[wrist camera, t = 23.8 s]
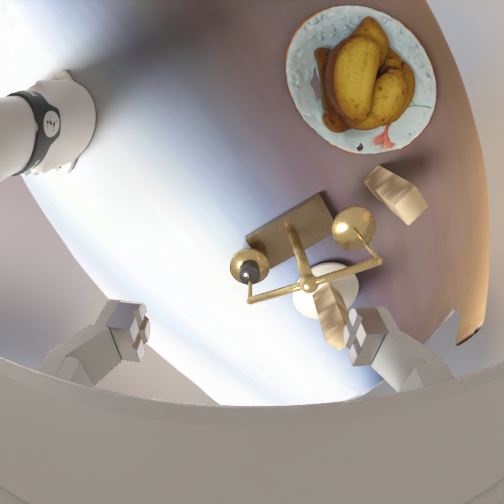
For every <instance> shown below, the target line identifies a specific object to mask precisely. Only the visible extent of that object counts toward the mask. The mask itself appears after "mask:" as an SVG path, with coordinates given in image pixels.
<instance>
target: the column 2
mask: <svg viewBox="0 0 504 504" xmlns="http://www.w3.org/2000/svg"><path fill="white" fill-rule="evenodd" d="M362 181H363V183H364V184H365V185H366V186H367V187H368V189H369V190H370V191H371V192H372V194H373V195H374V196H375V197H376V198H377V199H378V200H380V201H381V202H382V203H383V204H384V205H386V206H387V207H388V208H389V209H390V210H391V211H393V212H394V213H395V214H396V215H397V216H398V217H400V218H401V219H402V220H403V221H404V222H405V223H406V224H408V225H410V224H411V223H412V222H413V221H414V220H415V219H416V218H417V217H418V216H419V215H420V214H421V213H422V212H423V211H424V210H425V209H426V208H427V207H428V206H427V204H426V202H425V201H424V199H423V197H422V196H421V194H420V193H419V191H418V190H417V188H416V186H415V185H413V184H411V183H410V182H408V181H406V180H404V179H403V178H401V177H399V176H397V175H396V174H394V173H392V172H390V171H388V170H387V169H385V168H383V167H381V166H379V165H378V166H377V167H376V168H375V169H374V170H373V171H371V172H370V173H369V174H368V175H367V176H366V177H365V178H364V179H363V180H362Z"/></svg>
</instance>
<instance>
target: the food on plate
mask: <svg viewBox="0 0 504 504" xmlns="http://www.w3.org/2000/svg"><path fill="white" fill-rule="evenodd" d="M285 57H286V58H285V62H286V67H285V72H286V74H287V76H285V77H286V79H287V84H288V86H289V87H288V88H289V94H290V96H291V97H293V99H294V102H295V105H296V110H297V111H299V113H300V115H301V117H302V118H303V119H304V120H305V121H306V123H307V125H308V126H309V127H310V128H313V129H315V130H316V131H317V133H318V134H319V135H320V136H322V137H323V138H324V140H327V141H329V143H330V144H331V146H334V147H338V148H339V149H341V150H344V151H345V152H347V153H352V154H358V153H363V154H366V153H372V154H375V153H377V152H385V151H389V150H395V149H397V148H398V150H401V149H402V148H405V147H406V146H408V145H410V144H411V143H412V141H413V140H415V139H416V138H417V137H418V136H419V135H420V134H421V132H422V131H423V130H424V129H425V128H426V127H427V126H428V124H429V122H430V119H431V117H432V114H433V111H434V109H435V103H436V79H435V76H434V73H433V67H432V63H431V61H430V59H429V57H428V55H427V53H426V51H425V49H424V47H423V46H422V45H421V43H420V41H419V40H418V39H417V38H416V37H415V36H414V34H413V33H412V32H411V30H410V29H408V28H406V27H405V26H404V25H403V24H402V23H401V22H400V21H399V20H398V19H393V18H392V17H390V16H389V15H387V14H385V13H383V12H378V11H376V10H375V9H371V8H369V7H364V6H350V5H345V6H337V5H336V6H335V7H328V8H326V9H324V10H320V11H319V12H317V13H315V14H314V15H311V16H310V17H308V18H307V19H306V20H304V21H303V22H301V23H300V25H299V28H298V29H297V30H295V32H294V33H293V38H292V39H291V40H290V44H289V45H288V47H287V49H286V54H285ZM315 68H316V73H317V77H318V79H319V82H320V86H321V89H320V92H321V98H320V99H319V100H318V99H317V98H316V95H315V92H314V89H312V87H311V85H310V81H311V80H312V77H313V74H314V71H313V70H314V69H315ZM353 129H355V130H353ZM360 130H361V131H360ZM360 143H361V144H363V149H362V151H358V150H357V149H356V148H357V147H358V146H360V145H359V144H360Z"/></svg>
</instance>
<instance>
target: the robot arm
mask: <svg viewBox="0 0 504 504" xmlns="http://www.w3.org/2000/svg"><path fill="white" fill-rule="evenodd" d="M57 79H58V80H57ZM95 122H96V111H95V105H94V102H93V99H92V97H91V95H90V94H89V92H88V91H87V90H86V89H85V88H84V87H83V86H81V85H80V84H78V83H76V82H74V81H73V79H72V78H71V76H70V74H69V73H68V72H66V71H62V72H59V73H57V74H56V75H54V76H52V77H50V78H49V79H47V80H45V81H38V82H36V84H35V85H33V86H32V87H30V88H29V89H28V90H26V91H18V92H16V93H12V94H9V95H8V96H6V97H1V98H0V181H2V180H3V179H5V178H7V177H9V176H16V175H19V174H21V175H22V176H24V175H29V174H31V171H32V175H37V174H39V172H40V173H41V174H43V173H46V172H53V173H61V174H66V173H69V172H70V171H71V170H72V168H73V166H74V163H75V160H76V159H77V157H78V156H79V155H80V154H81V153H82V152H83V151H84V150H85V149H86V147H87V146H88V144H89V142H90V140H91V138H92V135H93V132H94V129H95ZM61 167H62V168H61ZM146 311H147V310H146V306H145V304H144V303H141V302H132V301H123V300H121V301H120V300H113V299H110V300H108V301H107V303H106V305H105V306H104V308H103V310H102V312H101V313H100V315H99V317H98V319H97V320H96V322H95V324H94V325H90V326H88V327H86V328H85V329H83V330H81V331H80V332H78V333H76V334H75V335H73V336H72V337H70V338H68V339H67V340H65V341H63V342H62V343H60V344H59V345H57V346H55V347H54V348H52V349H51V350H49V352H48V353H47V355H46V357H45V359H44V360H43V362H42V364H41V366H40V368H39V370H38V371H35V370H32V369H30V368H27V367H24V366H21V365H18V364H16V363H14V362H11V361H8V360H6V359H4V358H1V357H0V504H504V361H503V362H501V363H498V364H496V365H494V366H491V367H488V368H485V369H483V370H480V371H477V372H474V373H471V374H468V375H465V376H462V377H458V378H455V379H454V377H453V375H452V373H451V371H450V369H449V368H448V366H447V364H446V362H445V360H444V359H443V358H442V357H440V356H439V355H437V354H436V353H434V352H432V351H431V350H430V349H428V348H427V347H425V346H424V345H422V344H421V343H419V342H418V341H416V340H415V339H413V338H412V337H410V336H409V335H407V334H406V333H404V332H400V330H399V329H398V327H397V325H396V323H395V321H394V320H393V318H392V316H391V314H390V313H389V311H388V309H387V308H386V307H385V306H384V307H374V308H352V309H351V311H350V313H349V319H350V321H349V322H348V323H346V325H345V328H344V342H345V346H346V347H347V348H349V349H350V351H349V354H348V355H349V357H350V360H351V363H352V366H365V365H371V366H372V367H373V368H374V369H375V370H376V371H377V372H378V373H379V374H380V375H381V376H382V377H383V378H384V379H385V380H386V381H387V382H388V383H389V384H390V385H391V386H392V387H393V388H394V389H395V390H396V391H397V392H398V393H393V394H388V395H383V396H377V397H371V398H364V399H357V400H349V401H341V402H332V403H321V404H308V405H290V406H226V405H208V404H195V403H185V402H175V401H167V400H159V399H152V398H146V397H139V396H133V395H128V394H123V393H117V392H112V391H107V390H103V389H98V388H94V386H95V385H96V384H97V383H98V382H99V381H100V380H101V379H102V378H104V377H105V376H106V375H107V374H108V373H109V372H110V371H111V370H112V369H113V368H114V367H116V366H117V365H118V364H119V363H120V362H121V361H122V360H127V361H136V362H141V360H142V357H143V354H144V351H145V349H144V344H145V343H146V342H148V339H149V335H150V323H149V319H148V318H147V317H146V316H145V314H146Z"/></svg>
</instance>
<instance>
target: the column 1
mask: <svg viewBox="0 0 504 504" xmlns="http://www.w3.org/2000/svg"><path fill="white" fill-rule="evenodd" d="M312 297H313V300H314V304H315V307H316V310H317V314H318V317H319V321H320V324H321V327H322V331H323V334H324V338H325V341H326V342H328V343H329V344H330V345H332V346H333V347H335V348H336V349H338V350H339V351H340V350H341V349H343V348H344V347H346V346H345V342H344V328H345V325H346V323H348V322H349V321H350V319H349V312H348V310H347V307H346V305H345V303H344V300H343V298H342V296H341V293H340V292H339V291H338V290H336V289H335V288H334V287H333V286H332V285H331V284H330V283H329V282H327V283H326V284H325V285H324V286H322V287H321V288H320V289H319V290H318V291H316V292H315V293H314V294H313V295H312Z"/></svg>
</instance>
